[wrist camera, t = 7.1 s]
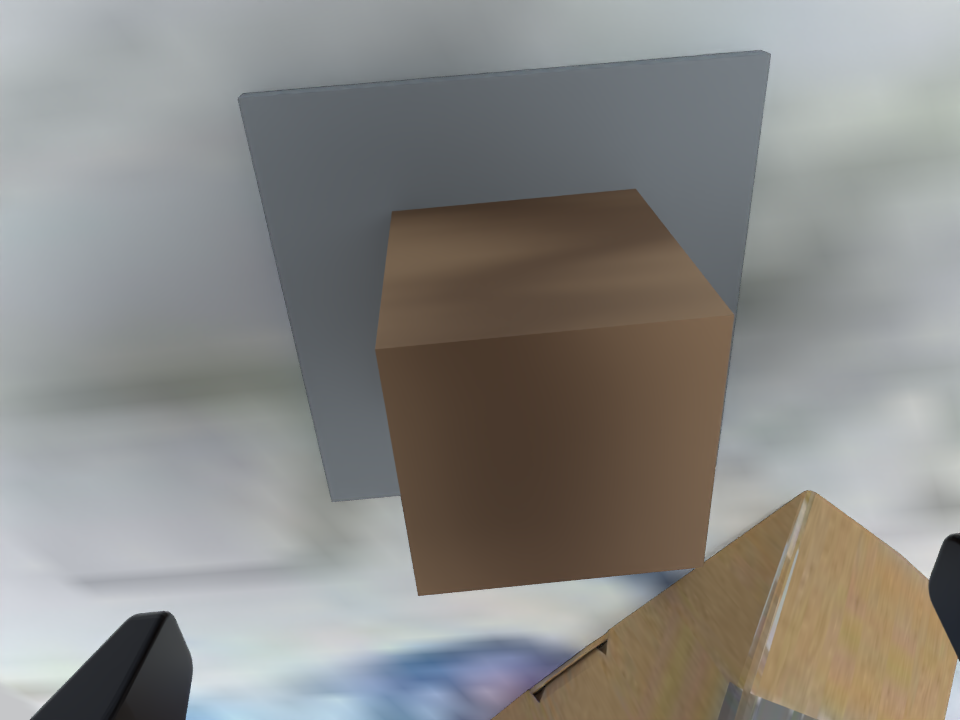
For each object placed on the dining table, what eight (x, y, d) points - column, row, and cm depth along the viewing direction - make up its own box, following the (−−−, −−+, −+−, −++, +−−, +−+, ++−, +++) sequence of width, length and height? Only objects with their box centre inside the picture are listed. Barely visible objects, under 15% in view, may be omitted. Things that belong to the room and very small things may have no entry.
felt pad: (761, 50, 13) (771, 53, 12) (710, 455, 17) (716, 465, 17) (242, 93, 12) (238, 98, 12) (333, 490, 17) (332, 501, 17)
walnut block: (635, 188, 13) (733, 314, 9) (627, 390, 16) (702, 567, 11) (392, 211, 13) (375, 349, 9) (420, 411, 16) (418, 595, 11)
